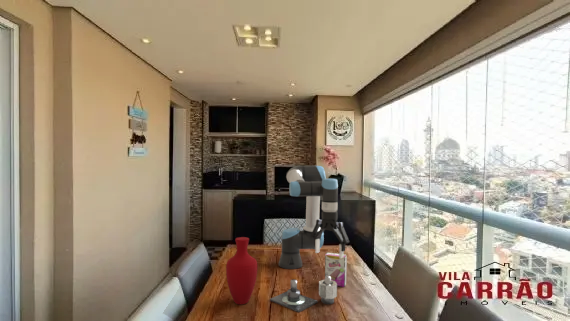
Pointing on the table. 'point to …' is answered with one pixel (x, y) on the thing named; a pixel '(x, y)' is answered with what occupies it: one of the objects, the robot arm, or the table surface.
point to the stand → (327, 282)
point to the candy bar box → (336, 268)
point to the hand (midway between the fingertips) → (329, 255)
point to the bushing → (327, 290)
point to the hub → (294, 299)
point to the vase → (241, 272)
